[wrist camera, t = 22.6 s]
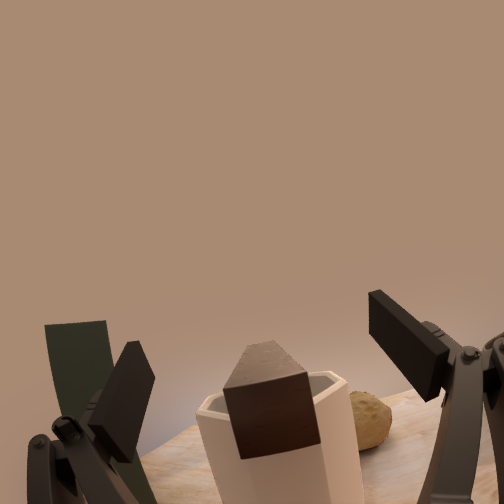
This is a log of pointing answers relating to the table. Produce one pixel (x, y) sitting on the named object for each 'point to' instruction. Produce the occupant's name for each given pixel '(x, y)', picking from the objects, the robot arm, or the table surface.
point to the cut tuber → (370, 419)
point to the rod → (270, 403)
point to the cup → (289, 454)
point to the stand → (89, 384)
